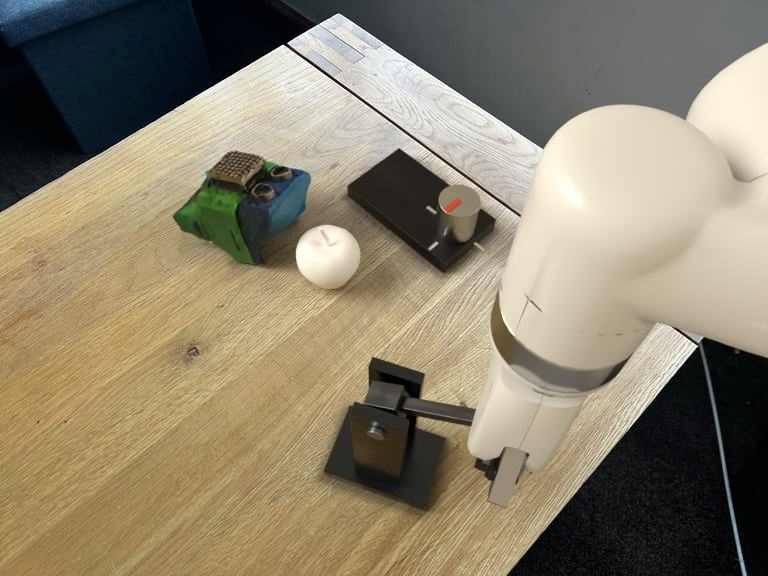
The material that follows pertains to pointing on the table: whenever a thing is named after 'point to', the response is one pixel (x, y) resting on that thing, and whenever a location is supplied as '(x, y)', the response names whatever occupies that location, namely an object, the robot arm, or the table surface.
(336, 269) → the plain white apple
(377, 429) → the lever bracket
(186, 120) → the table surface
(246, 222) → the sculpture
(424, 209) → the dial panel
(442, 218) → the knob
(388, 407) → the lever
